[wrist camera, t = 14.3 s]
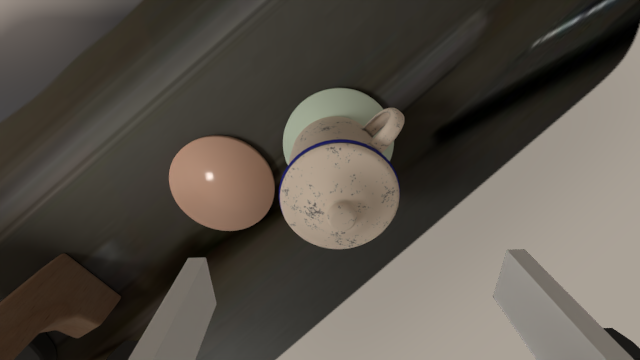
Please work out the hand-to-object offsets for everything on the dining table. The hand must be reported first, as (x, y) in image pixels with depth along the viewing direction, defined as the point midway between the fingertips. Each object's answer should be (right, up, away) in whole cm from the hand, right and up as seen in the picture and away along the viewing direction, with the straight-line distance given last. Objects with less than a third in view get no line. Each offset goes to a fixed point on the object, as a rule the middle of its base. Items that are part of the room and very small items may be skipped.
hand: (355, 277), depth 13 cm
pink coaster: (-12, +4, +19) cm, 23 cm away
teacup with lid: (+1, +8, +17) cm, 18 cm away
